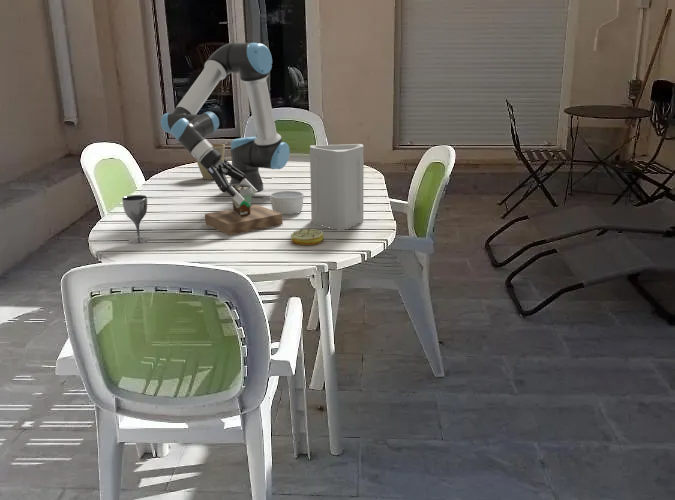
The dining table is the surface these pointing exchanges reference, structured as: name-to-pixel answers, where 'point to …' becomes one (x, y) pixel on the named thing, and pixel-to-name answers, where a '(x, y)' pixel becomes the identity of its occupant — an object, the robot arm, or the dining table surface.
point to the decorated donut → (307, 236)
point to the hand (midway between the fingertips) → (248, 197)
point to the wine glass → (136, 213)
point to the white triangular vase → (337, 185)
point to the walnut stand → (243, 220)
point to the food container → (246, 204)
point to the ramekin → (287, 201)
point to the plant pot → (220, 149)
